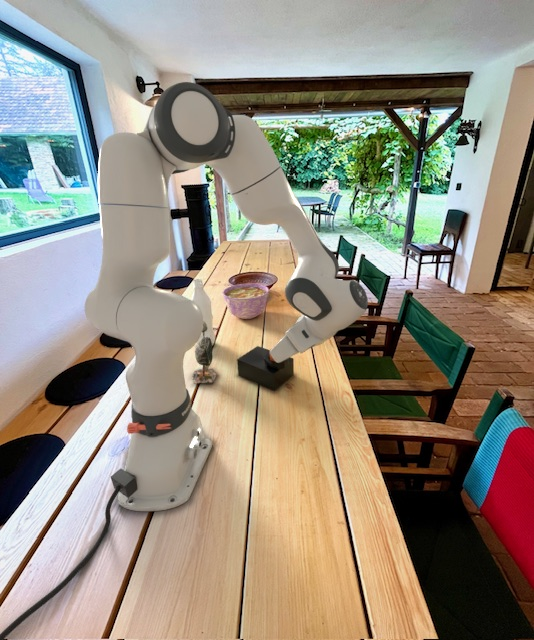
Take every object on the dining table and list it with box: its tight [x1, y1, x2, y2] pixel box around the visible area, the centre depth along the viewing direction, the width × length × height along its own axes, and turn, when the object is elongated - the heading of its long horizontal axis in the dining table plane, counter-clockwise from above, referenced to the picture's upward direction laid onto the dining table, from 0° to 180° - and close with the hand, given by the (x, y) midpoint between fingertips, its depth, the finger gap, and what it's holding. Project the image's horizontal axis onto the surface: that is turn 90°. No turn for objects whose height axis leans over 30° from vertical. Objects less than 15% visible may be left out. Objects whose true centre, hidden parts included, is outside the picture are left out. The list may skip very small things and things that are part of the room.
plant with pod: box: [191, 321, 218, 385], centre depth 97 cm, size 8×11×20 cm
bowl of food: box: [222, 283, 270, 320], centre depth 140 cm, size 20×20×12 cm
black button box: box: [236, 345, 295, 392], centre depth 98 cm, size 15×10×8 cm
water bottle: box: [190, 278, 216, 347], centre depth 114 cm, size 7×7×25 cm
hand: (283, 350), depth 91 cm, fingers closed
